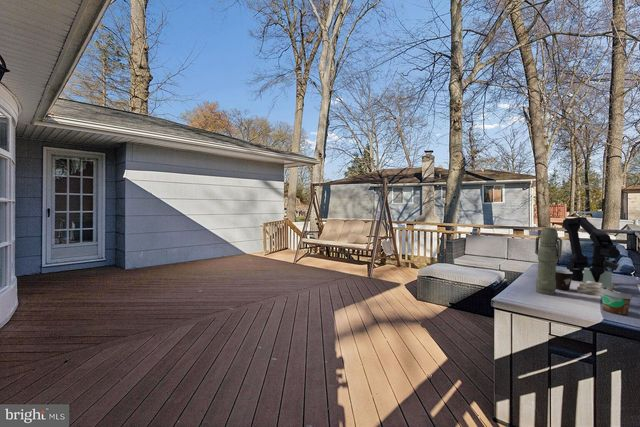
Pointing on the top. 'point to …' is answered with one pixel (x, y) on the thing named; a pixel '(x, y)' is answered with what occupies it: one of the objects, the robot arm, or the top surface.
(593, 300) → the top surface
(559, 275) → the coffee mug
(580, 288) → the rack
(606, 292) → the food container
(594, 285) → the offcut stack
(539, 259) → the thermos
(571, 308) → the top surface
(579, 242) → the robot arm
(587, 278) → the green board
